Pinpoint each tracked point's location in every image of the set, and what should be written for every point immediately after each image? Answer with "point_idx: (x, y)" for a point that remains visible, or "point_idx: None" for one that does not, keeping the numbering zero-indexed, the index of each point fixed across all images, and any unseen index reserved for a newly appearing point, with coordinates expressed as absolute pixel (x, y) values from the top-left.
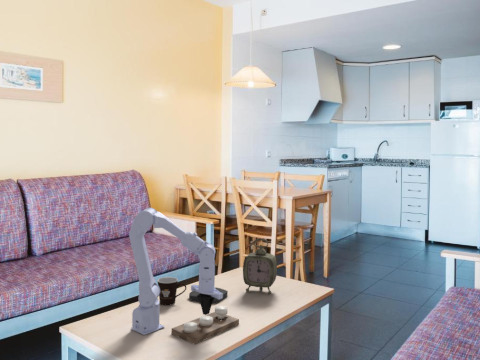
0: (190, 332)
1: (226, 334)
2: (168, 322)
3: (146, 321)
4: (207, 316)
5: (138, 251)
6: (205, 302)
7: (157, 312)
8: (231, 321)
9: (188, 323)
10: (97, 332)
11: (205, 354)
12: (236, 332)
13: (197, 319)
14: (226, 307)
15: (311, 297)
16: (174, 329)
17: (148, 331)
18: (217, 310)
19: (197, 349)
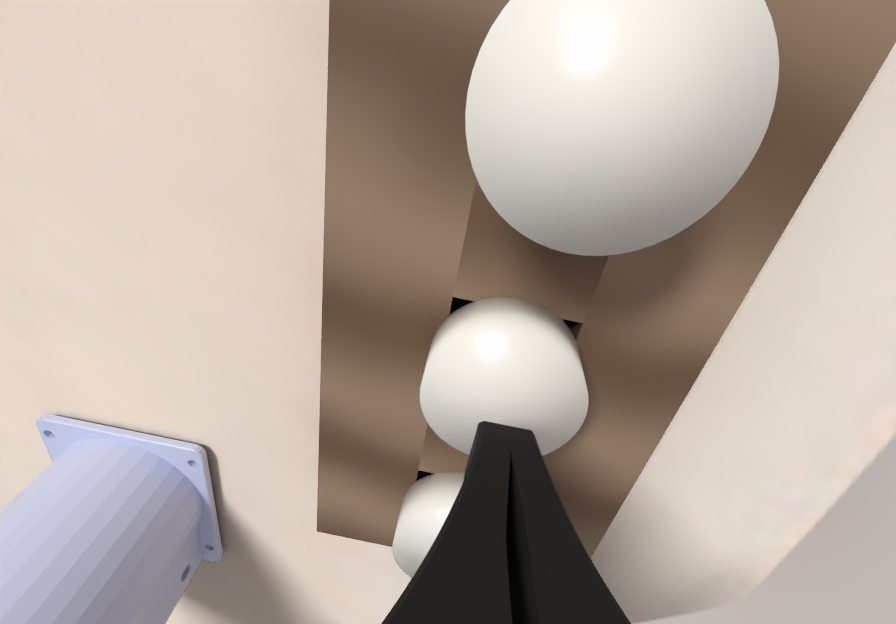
0: None
1: (761, 337)
2: (131, 360)
3: (155, 615)
4: (478, 351)
5: None
6: None
7: (110, 620)
8: (806, 140)
9: (420, 544)
10: None
11: (703, 604)
12: (876, 246)
13: (345, 314)
14: (734, 6)
15: None
16: (347, 536)
17: (206, 538)
18: (583, 252)
19: (624, 579)
